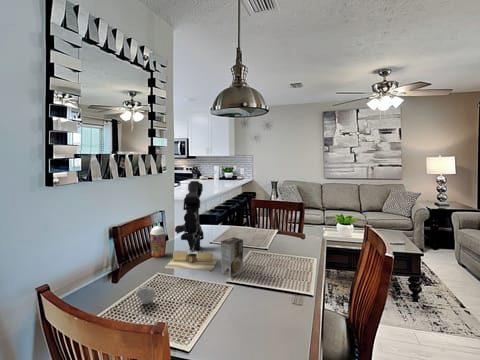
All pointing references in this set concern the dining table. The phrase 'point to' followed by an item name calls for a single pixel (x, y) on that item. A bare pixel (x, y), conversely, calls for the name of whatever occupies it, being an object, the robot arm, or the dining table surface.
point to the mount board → (192, 265)
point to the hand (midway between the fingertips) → (191, 249)
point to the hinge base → (184, 256)
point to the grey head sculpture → (145, 294)
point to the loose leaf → (205, 256)
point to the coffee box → (231, 257)
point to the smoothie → (157, 241)
